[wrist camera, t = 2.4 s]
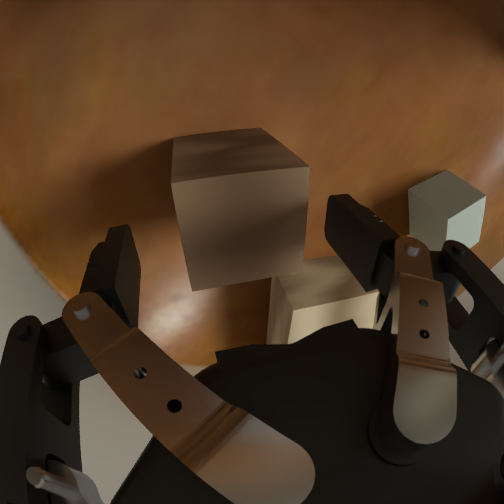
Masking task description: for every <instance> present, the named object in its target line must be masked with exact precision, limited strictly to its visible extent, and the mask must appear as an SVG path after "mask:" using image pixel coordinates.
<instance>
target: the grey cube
mask: <svg viewBox="0 0 504 504" xmlns="http://www.w3.org/2000/svg"><path fill="white" fill-rule="evenodd" d="M408 200H409V231H410V235H411V236H412V237H413V238H415V239H418V240H420V241H421V242H423V243H424V244H425V245H426V246H427V247H428V249H429V250H430V251H441V249H442V247H443V244H444V242H445V241H446V240H455V241H458V242H461V243H463V244H464V245H466V246H467V247H468V248H471V247H472V246H473V245H475V244H476V243H478V242H479V238H480V233H481V227H482V222H483V215H484V209H485V201H486V195H485V194H483V193H482V192H480V191H479V190H478V189H476V188H475V187H473V186H472V185H470V184H469V183H467V182H465V181H464V180H462V179H461V178H459V177H458V176H456V175H454V174H453V173H451V172H450V171H448V170H445V171H443V172H441V173H439V174H437V175H435V176H433V177H431V178H429V179H427V180H425V181H423V182H421V183H419V184H417V185H415V186H413V187H411V188H409V189H408Z"/></svg>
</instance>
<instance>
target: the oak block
mask: <svg viewBox="0 0 504 504" xmlns="http://www.w3.org/2000/svg"><path fill="white" fill-rule="evenodd" d="M378 293H379V290H378V289H376V290H373V291H369V292H366V291H365V290H364V289H363V287H362V286H361V285H360V283H359V282H358V281H357V279H356V278H355V277H354V275H353V274H352V273H351V271H350V270H349V269H348V267H347V266H346V265H345V264H344V262H343V261H342V260H341V258H340V257H339V256H331V257H324V258H318V259H311V260H304V261H303V267H302V272H297V273H291V274H286V275H281V276H276V277H272V279H271V292H270V305H269V317H268V329H267V341H266V344H291V343H294V342H296V341H298V340H300V339H302V338H304V337H306V336H308V335H310V334H311V333H313V332H315V331H317V330H319V329H321V328H322V327H326V326H329V325H333V324H336V323H340V322H343V321H347V320H350V319H353V320H354V322H355V323H356V325H357V326H358V328H371V329H373V324H374V317H375V309H376V301H377V296H378Z"/></svg>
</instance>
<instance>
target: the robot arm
mask: <svg viewBox="0 0 504 504" xmlns="http://www.w3.org/2000/svg"><path fill="white" fill-rule="evenodd" d="M324 231H325V237H326V240H327V242H328V243H329V244H330V246H331V247H332V248H333V249H334V251H335V252H336V253H337V254H338V256H339V257H340V258H341V260H342V261H343V262H344V264H345V265H346V266H347V267H348V269H349V270H350V271H351V273H352V274H353V275H354V277H355V278H356V279H357V281H358V282H359V283H360V285H361V286H362V287H363V289H364V290H365V291H366V292H369V291H373V290H376V289H378V290H379V293H378V296H377V301H376V309H375V317H374V324H373V329H371V328H358V326H357V325H356V323H355V322H354V320H353V319H350V320H347V321H343V322H340V323H336V324H333V325H329V326H326V327H322V328H321V329H319V330H317V331H315V332H313V333H311V334H310V335H308V336H306V337H304V338H302V339H300V340H298V341H296V342H294V343H291V344H256V345H247V346H242V347H238V348H233V349H227V350H222V351H217V352H215V353H216V358H217V363H215V364H212V365H210V366H208V367H207V368H205V369H203V370H202V371H200V372H199V373H198V374H196V375H195V376H194V377H193V376H192V375H190V374H189V373H188V372H187V371H186V370H184V369H183V368H182V367H181V366H180V365H179V364H177V363H176V362H175V361H174V360H173V359H172V358H170V357H169V356H168V355H167V354H166V353H165V352H164V351H162V350H161V349H160V348H159V347H158V346H157V345H156V344H155V343H154V342H153V341H151V340H150V339H149V338H148V337H147V336H146V335H145V334H144V333H143V332H142V331H141V330H140V329H138V313H139V293H140V278H141V267H140V261H139V257H138V253H137V250H136V247H135V243H134V240H133V236H132V233H131V229H130V227H129V225H128V224H126V225H121V226H116V227H111V228H109V231H108V234H107V237H106V240H105V242H100V243H98V245H97V246H96V247H95V248H94V249H93V251H92V252H91V255H90V258H89V262H88V265H87V270H86V271H85V274H84V278H83V281H82V285H81V288H80V292H79V294H78V295H76V296H74V297H73V298H71V299H70V300H69V301H68V302H67V303H66V305H65V306H64V308H63V311H62V317H60V318H58V319H55V320H53V321H51V322H48V323H46V324H44V325H42V323H41V322H40V320H39V319H38V318H37V317H35V316H31V315H30V316H25V317H23V318H21V319H19V320H18V321H17V322H16V323H15V324H14V325H13V326H12V327H11V329H10V331H9V334H8V337H7V340H6V345H5V348H4V352H3V356H2V360H1V364H0V504H104V503H103V501H102V500H101V498H100V496H99V493H98V489H97V487H96V485H95V483H94V482H93V480H92V479H91V478H90V477H88V476H87V475H86V474H84V473H82V462H81V450H80V433H79V432H80V431H79V386H80V381H81V380H83V379H86V378H88V377H90V376H93V375H95V374H98V373H100V375H101V376H102V377H103V379H104V380H105V381H106V382H107V384H108V385H109V386H110V387H111V389H112V390H113V391H114V392H115V394H116V395H117V396H118V397H119V398H120V400H121V401H122V402H123V403H124V404H125V405H126V406H127V408H128V409H129V410H130V411H131V412H132V413H133V414H134V415H135V416H136V418H137V419H138V420H139V421H140V422H141V423H142V424H143V425H144V426H145V427H146V428H147V429H148V430H149V431H150V432H151V433H152V434H153V437H152V438H151V440H150V441H149V443H148V444H147V446H146V448H145V449H144V451H143V452H142V454H141V456H140V457H139V459H138V460H137V462H136V463H135V465H134V467H133V468H132V470H131V471H130V473H129V474H128V476H127V477H126V479H125V480H124V482H123V484H122V485H121V487H120V488H119V490H118V491H117V493H116V495H115V496H114V498H113V499H112V501H111V503H110V504H504V284H503V283H502V282H501V281H500V280H499V279H498V278H497V277H496V276H495V274H493V272H492V271H491V270H490V269H489V268H488V267H487V266H486V265H485V264H484V263H483V262H482V261H481V260H480V259H479V258H478V257H477V256H476V255H475V254H474V253H473V252H472V251H471V250H470V249H469V248H468V247H467V246H466V245H464V244H463V243H461V242H458V241H455V240H446V241H445V242H444V244H443V247H442V249H441V251H430V250H429V249H428V247H427V246H426V245H425V244H424V243H423V242H421V241H420V240H418V239H415V238H412V237H406V236H404V237H400V236H399V235H398V234H396V233H395V232H394V231H393V230H392V229H391V228H390V227H389V226H388V225H387V224H386V223H385V222H382V220H381V219H380V218H379V217H377V215H376V214H375V213H373V212H372V211H371V210H370V209H368V208H366V207H364V206H362V205H360V204H359V203H358V202H357V201H355V200H354V199H353V198H352V197H351V196H350V195H348V194H339V195H331V196H330V197H329V198H328V203H327V211H326V220H325V228H324ZM460 284H462V285H463V286H464V287H465V289H466V290H467V291H468V292H469V293H470V294H471V296H472V297H473V300H474V308H473V310H472V312H471V313H470V315H469V314H468V312H467V311H466V310H465V309H464V307H463V306H462V305H461V304H460V302H459V301H458V300H457V298H456V297H455V294H456V292H457V290H458V288H459V286H460ZM449 341H450V343H451V344H452V346H453V347H454V349H455V350H456V352H457V353H458V355H459V356H460V358H461V359H462V361H463V363H464V364H465V366H466V367H467V369H468V371H467V370H465V369H463V368H460V367H458V366H456V365H454V364H452V363H451V362H450V347H449Z"/></svg>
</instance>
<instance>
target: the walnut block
mask: <svg viewBox="0 0 504 504" xmlns="http://www.w3.org/2000/svg"><path fill="white" fill-rule="evenodd" d="M309 179H310V166H309V165H308V164H306V163H305V162H304V161H303V160H301V159H300V158H299V157H298V156H297V155H295V154H294V153H293V152H292V151H290V150H289V149H288V148H287V147H285V146H284V145H283V144H281V143H280V142H279V141H278V140H276V139H275V138H274V137H272V136H271V135H270V134H268V133H267V132H266V131H264V130H263V129H262V128H252V129H240V130H230V131H220V132H212V133H204V134H196V135H189V136H182V137H176V138H173V152H172V171H171V187H172V193H173V198H174V204H175V210H176V215H177V221H178V226H179V231H180V236H181V241H182V246H183V251H184V256H185V261H186V265H187V270H188V275H189V279H190V284H191V288H192V291H198V290H203V289H209V288H215V287H221V286H227V285H232V284H238V283H243V282H249V281H254V280H260V279H265V278H270V277H276V276H281V275H286V274H291V273H297V272H302V267H303V257H304V246H305V235H306V222H307V209H308V195H309Z"/></svg>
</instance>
